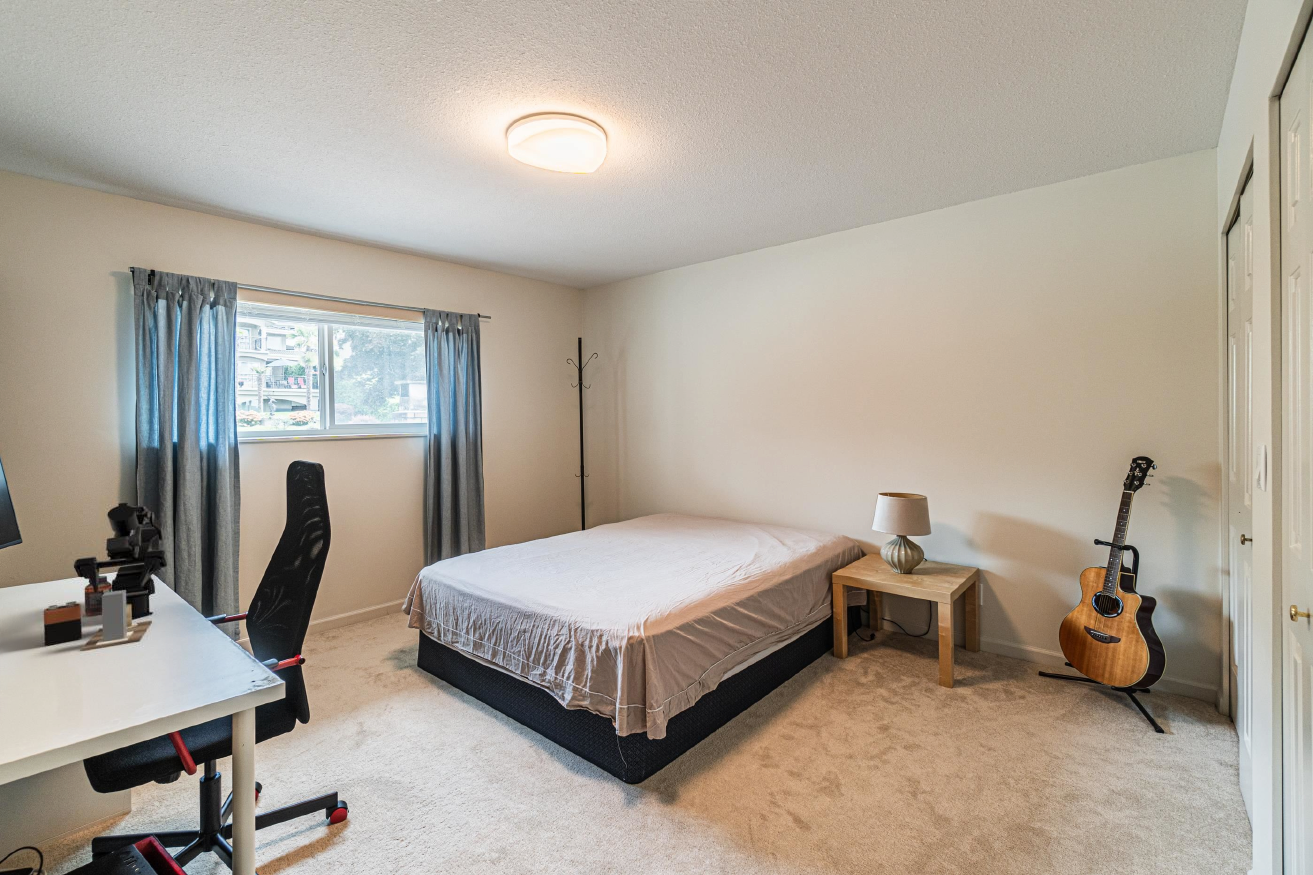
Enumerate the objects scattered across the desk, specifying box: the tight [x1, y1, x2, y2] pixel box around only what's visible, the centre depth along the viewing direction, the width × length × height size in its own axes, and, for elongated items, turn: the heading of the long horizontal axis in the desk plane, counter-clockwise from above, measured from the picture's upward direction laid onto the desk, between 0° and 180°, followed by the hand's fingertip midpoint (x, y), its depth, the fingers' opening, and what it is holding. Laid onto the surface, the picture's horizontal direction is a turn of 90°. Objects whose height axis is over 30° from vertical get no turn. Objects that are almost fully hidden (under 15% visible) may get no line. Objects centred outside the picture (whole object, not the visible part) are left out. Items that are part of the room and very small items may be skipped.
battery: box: [43, 600, 83, 647], centre depth 150 cm, size 4×7×10 cm, turn 137°
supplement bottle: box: [84, 575, 112, 617], centre depth 174 cm, size 6×6×11 cm
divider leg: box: [101, 590, 127, 642], centre depth 149 cm, size 4×4×12 cm
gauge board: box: [80, 604, 153, 652], centre depth 153 cm, size 18×11×7 cm, turn 34°
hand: (118, 588), depth 154 cm, fingers open, 9 cm apart
